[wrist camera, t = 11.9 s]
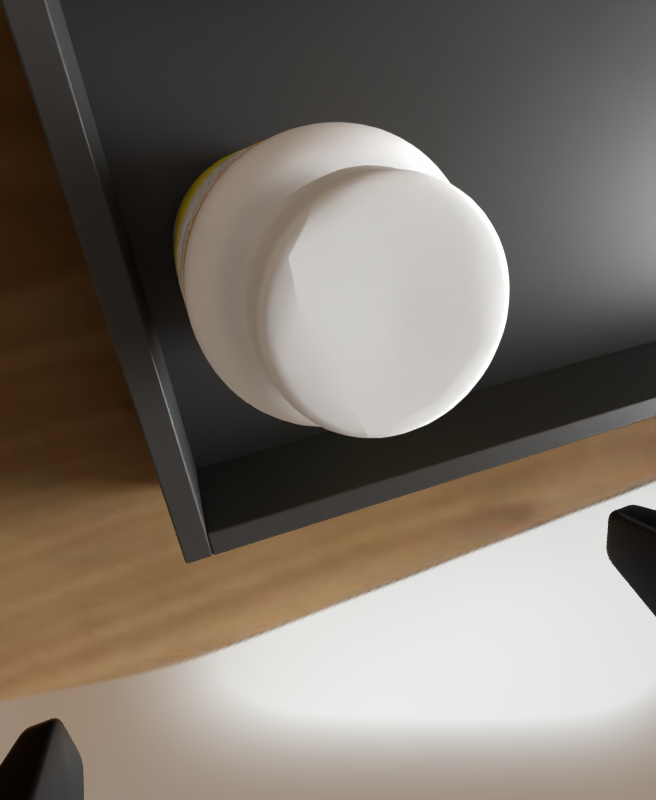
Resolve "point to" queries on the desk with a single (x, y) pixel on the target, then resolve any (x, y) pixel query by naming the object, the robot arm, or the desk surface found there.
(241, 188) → the supplement bottle
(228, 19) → the black rectangular tray
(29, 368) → the desk surface
